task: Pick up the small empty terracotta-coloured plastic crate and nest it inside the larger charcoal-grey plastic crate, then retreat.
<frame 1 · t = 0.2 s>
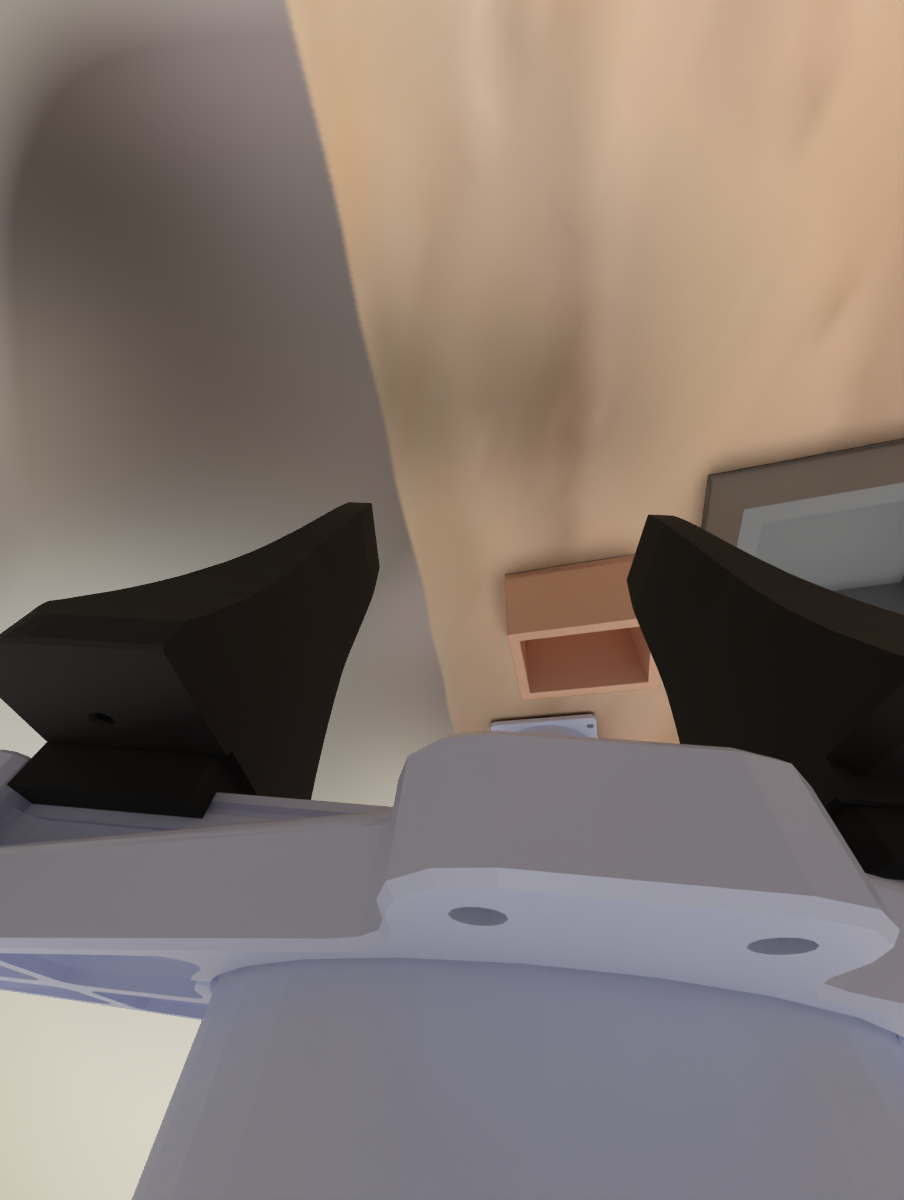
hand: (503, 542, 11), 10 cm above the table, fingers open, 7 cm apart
large crate: (813, 534, 21), on the table
small crate: (570, 599, 24), on the table
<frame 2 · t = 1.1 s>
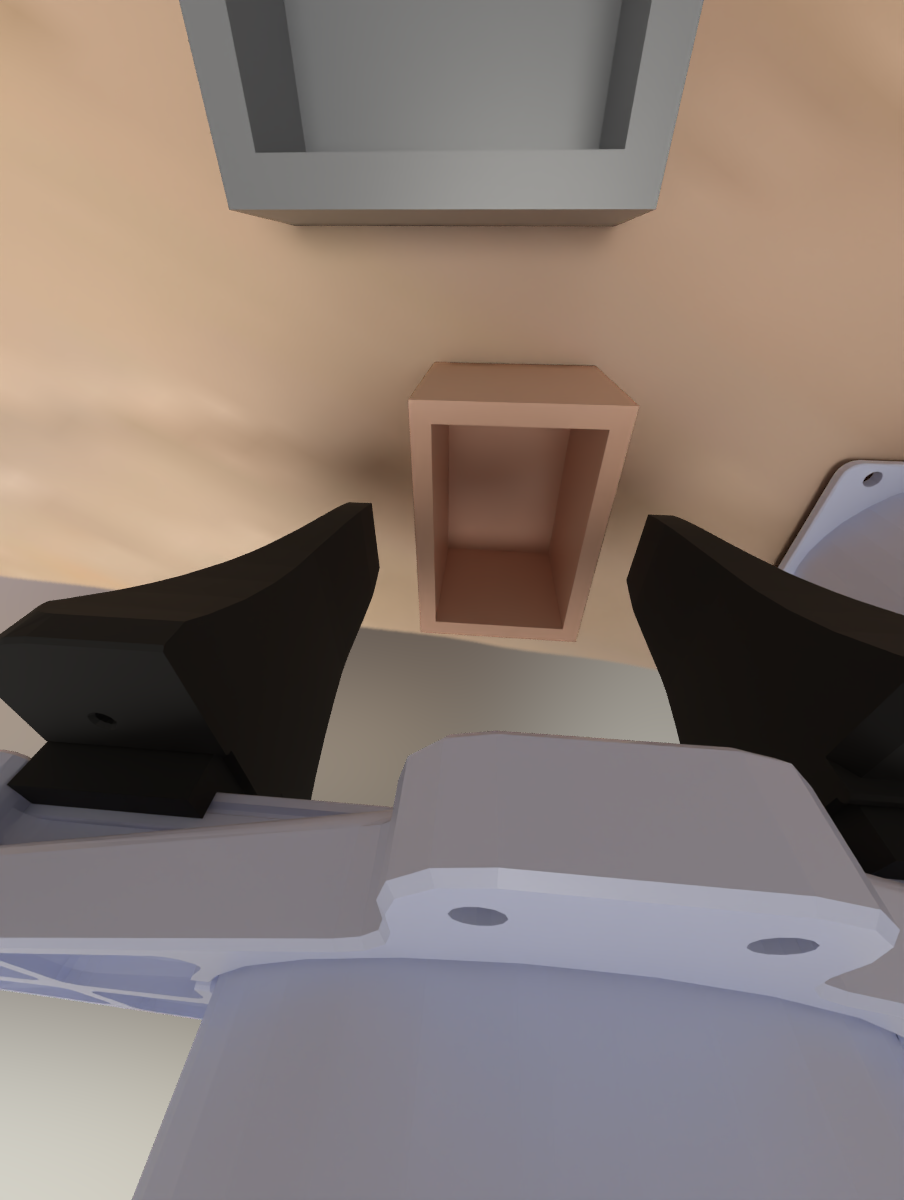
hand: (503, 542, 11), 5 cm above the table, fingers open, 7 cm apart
small crate: (504, 473, 15), on the table
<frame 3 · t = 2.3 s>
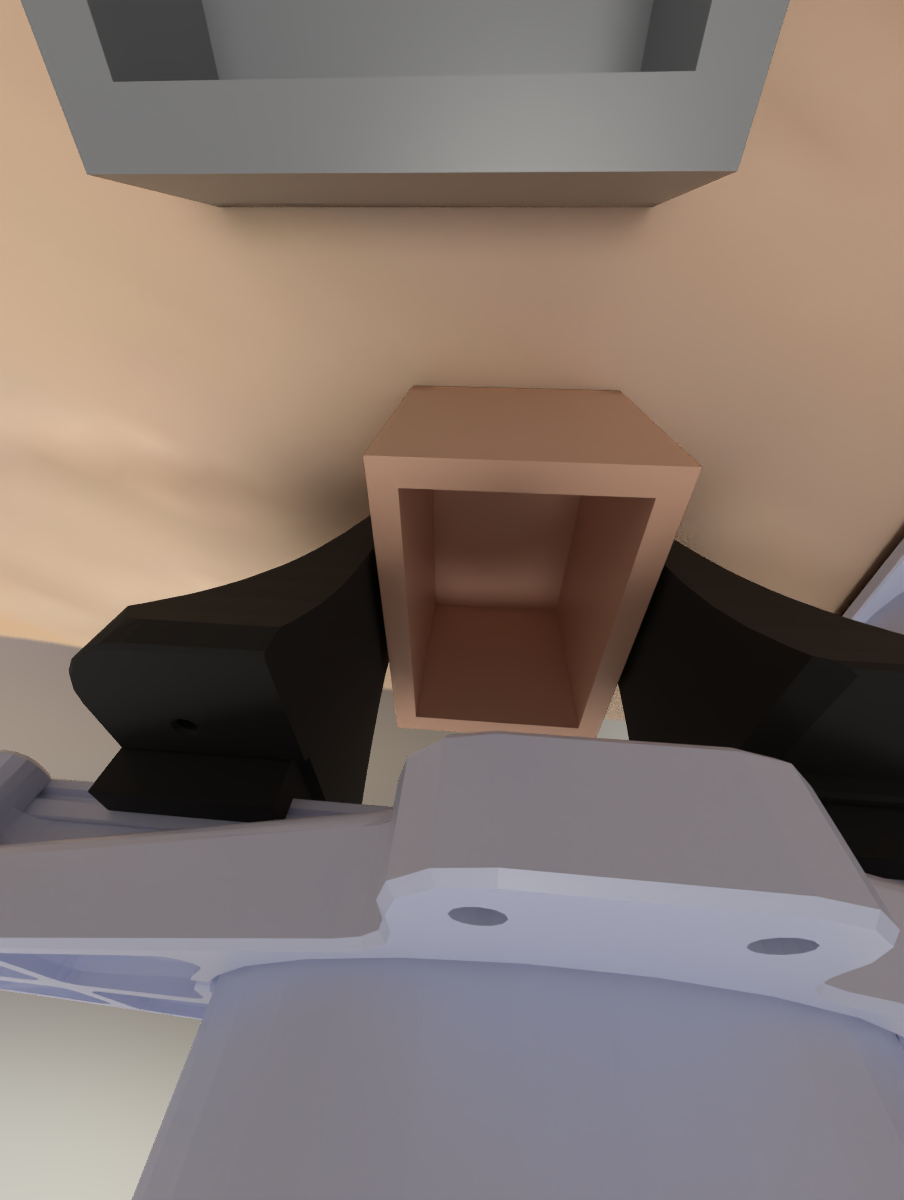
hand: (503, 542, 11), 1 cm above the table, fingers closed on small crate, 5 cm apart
small crate: (502, 518, 12), on the table, touching gripper
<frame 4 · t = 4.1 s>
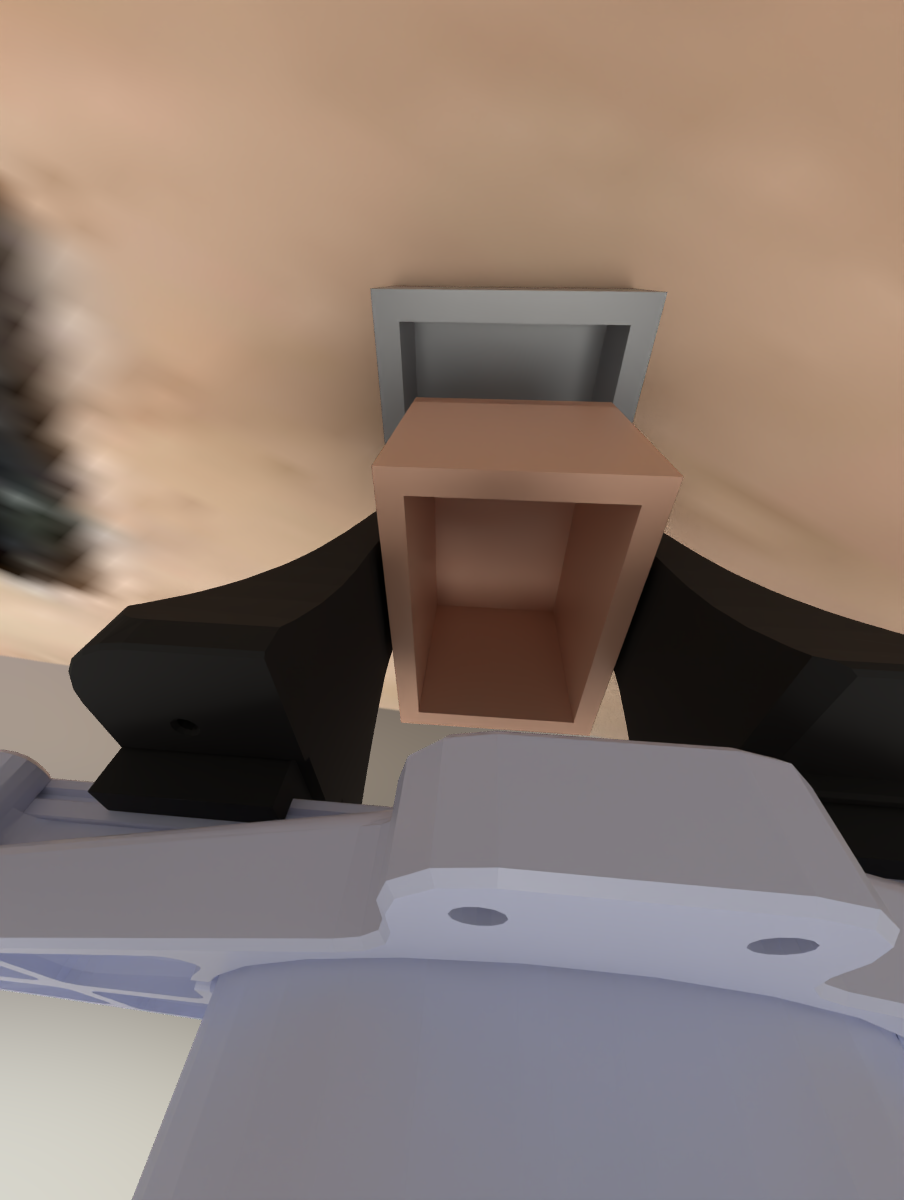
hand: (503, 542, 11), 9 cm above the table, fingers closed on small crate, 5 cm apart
large crate: (499, 439, 18), on the table
small crate: (501, 522, 13), point 7 cm above the table, touching gripper
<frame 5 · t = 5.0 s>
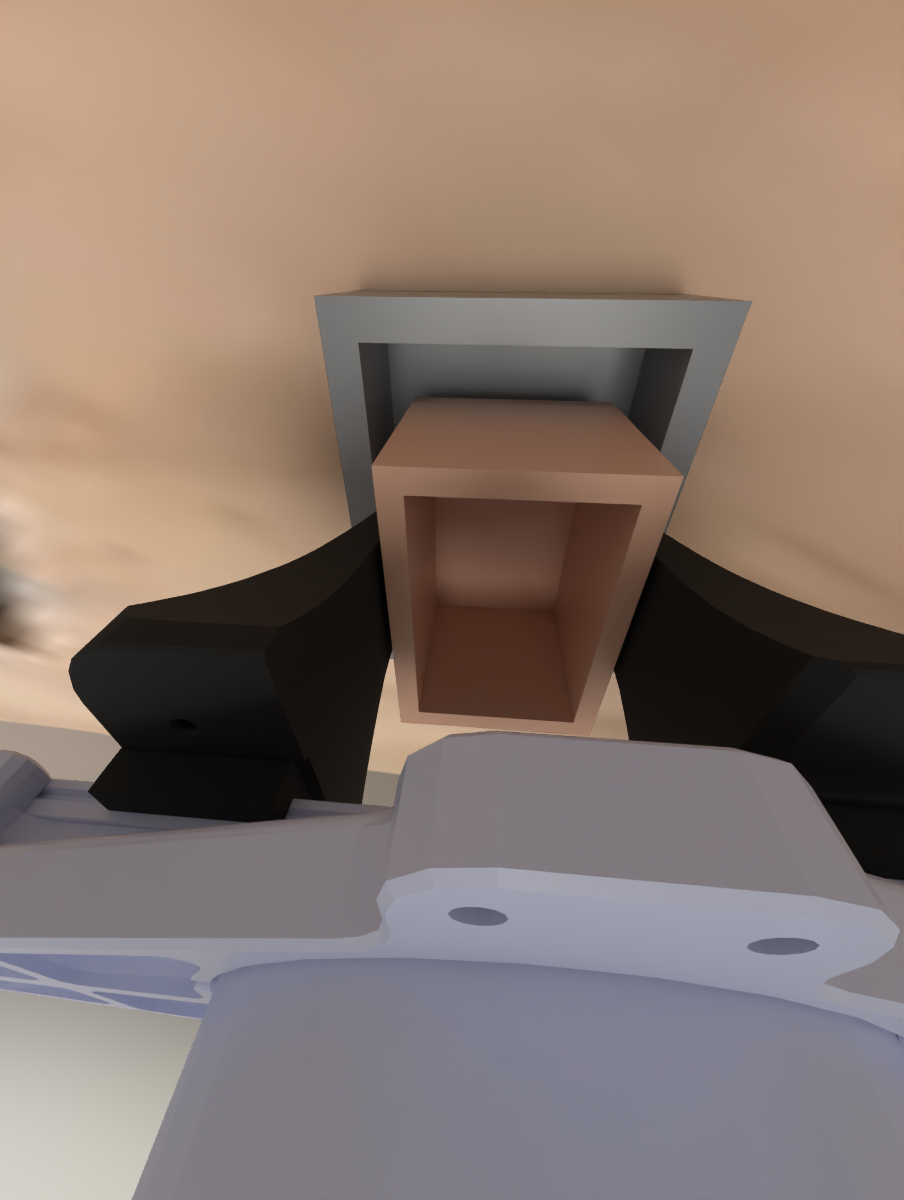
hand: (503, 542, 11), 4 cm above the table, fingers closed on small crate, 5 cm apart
large crate: (501, 484, 14), on the table
small crate: (501, 522, 13), point 2 cm above the table, touching gripper
when the fingers open (4 cm above the table, at t = 5.9 s): small crate drops 2 cm, resting on large crate.
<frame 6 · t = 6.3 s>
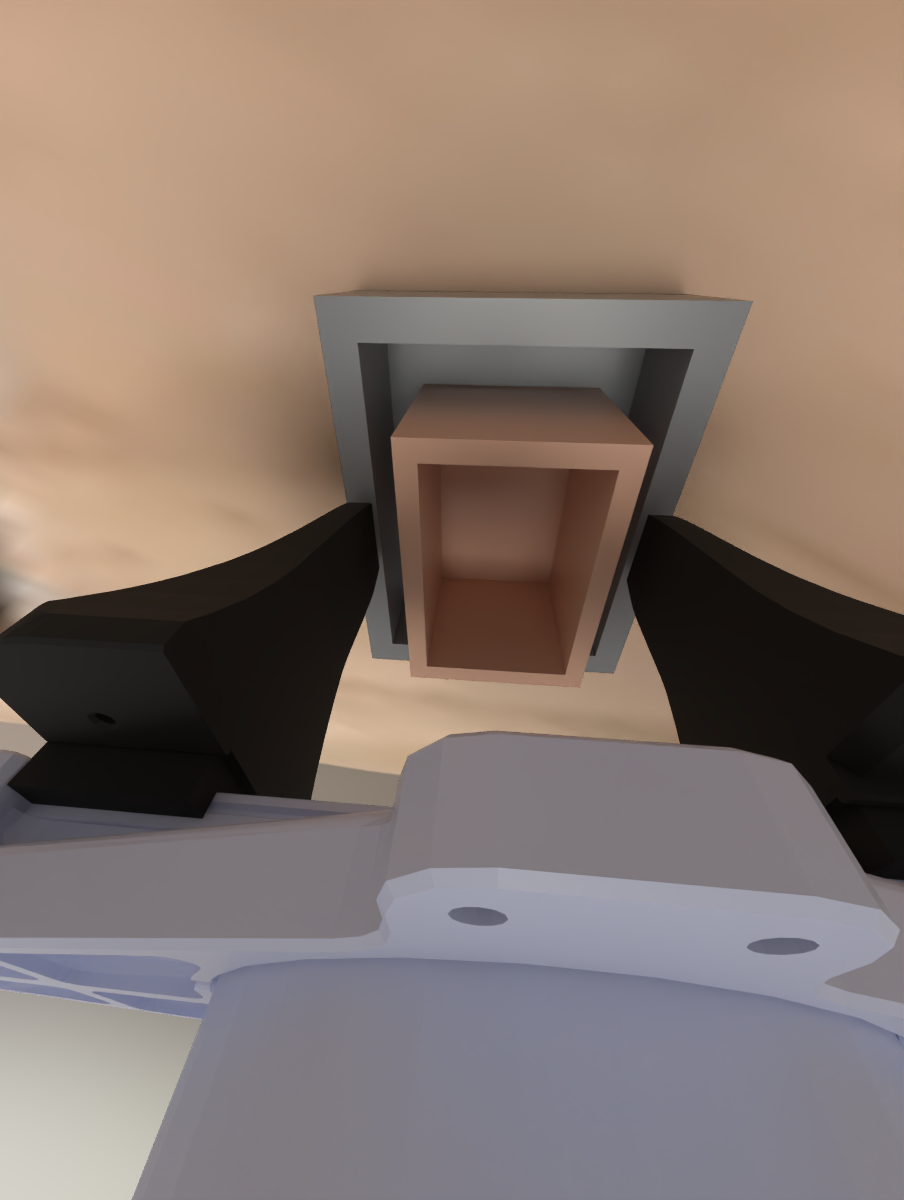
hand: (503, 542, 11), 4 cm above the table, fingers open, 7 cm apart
large crate: (501, 484, 14), on the table
small crate: (501, 499, 14), resting on large crate
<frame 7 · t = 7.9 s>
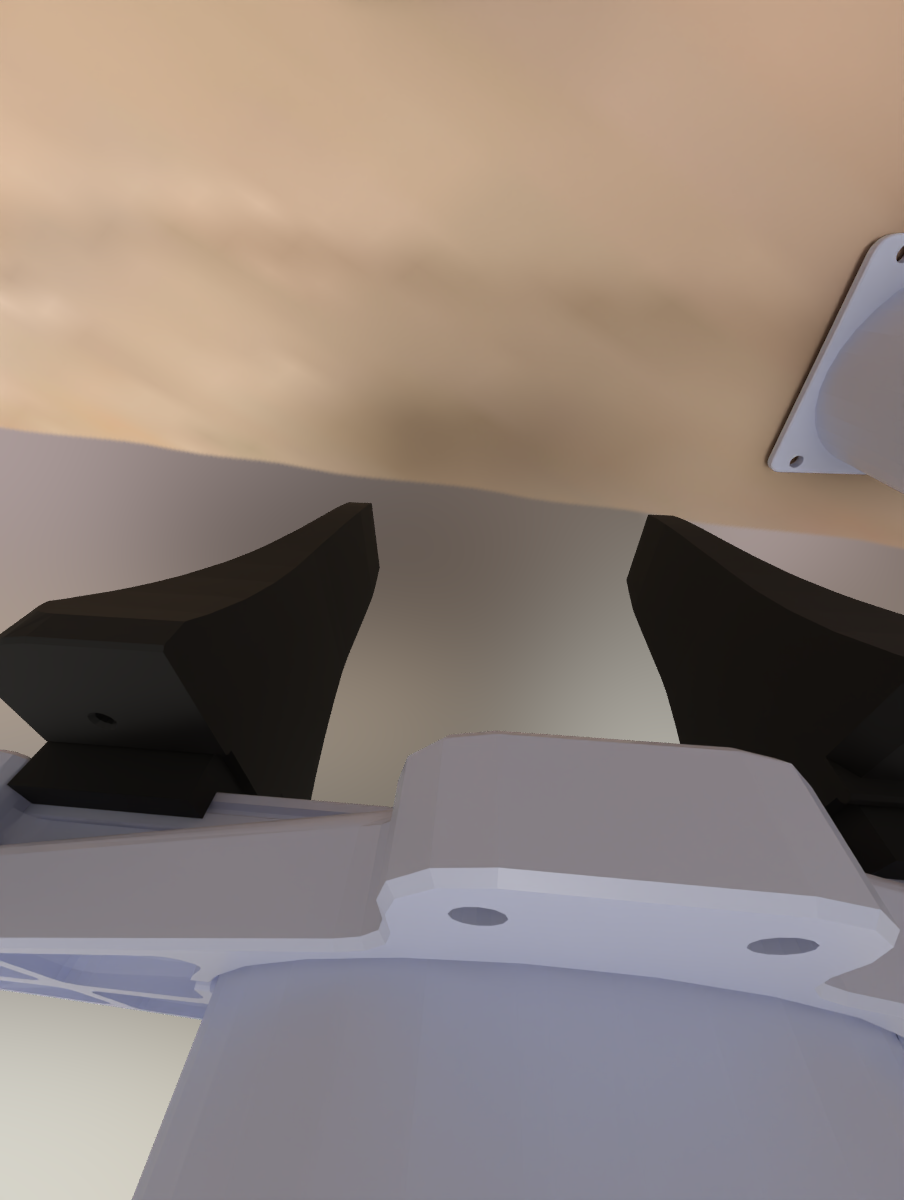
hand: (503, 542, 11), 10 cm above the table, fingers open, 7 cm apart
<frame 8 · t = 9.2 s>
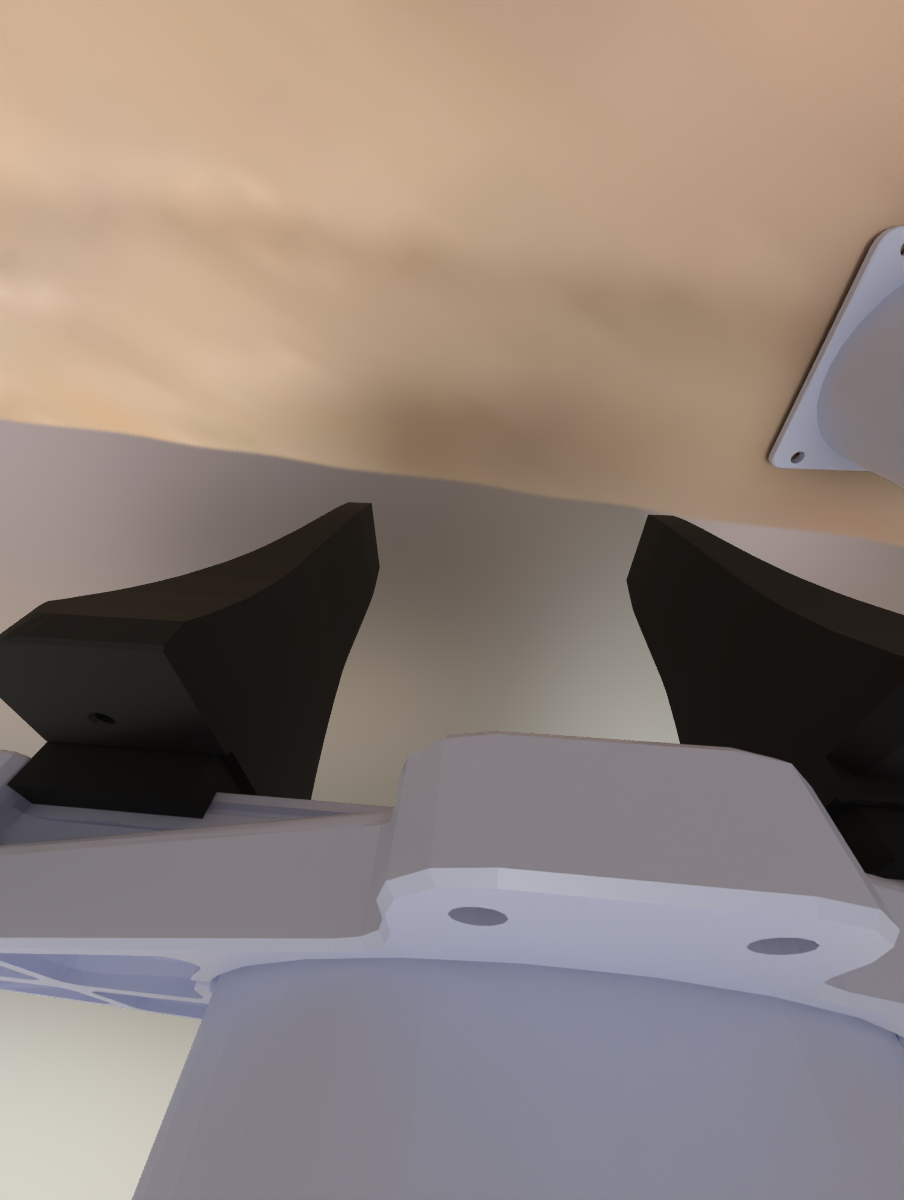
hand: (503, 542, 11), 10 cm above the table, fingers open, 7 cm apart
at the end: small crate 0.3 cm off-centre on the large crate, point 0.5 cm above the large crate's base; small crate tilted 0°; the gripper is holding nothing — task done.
